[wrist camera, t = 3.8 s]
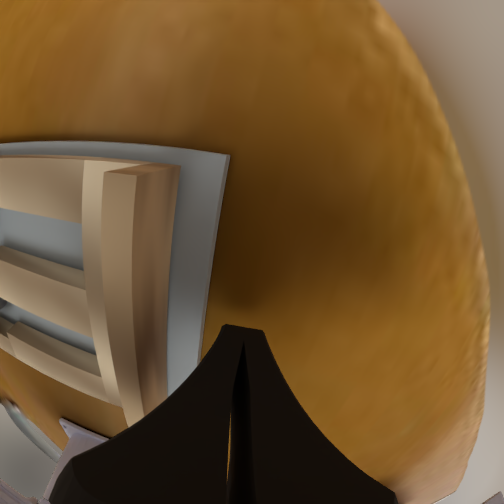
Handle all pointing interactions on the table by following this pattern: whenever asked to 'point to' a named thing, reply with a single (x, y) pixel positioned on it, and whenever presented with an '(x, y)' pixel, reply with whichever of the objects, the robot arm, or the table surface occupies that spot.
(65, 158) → the beige flat slatted frame
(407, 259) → the table surface
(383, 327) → the table surface
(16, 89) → the table surface
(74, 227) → the board
